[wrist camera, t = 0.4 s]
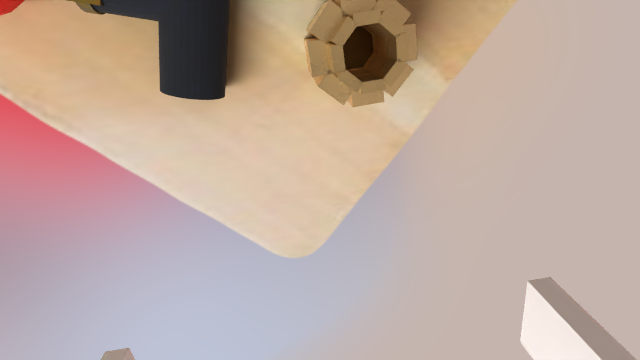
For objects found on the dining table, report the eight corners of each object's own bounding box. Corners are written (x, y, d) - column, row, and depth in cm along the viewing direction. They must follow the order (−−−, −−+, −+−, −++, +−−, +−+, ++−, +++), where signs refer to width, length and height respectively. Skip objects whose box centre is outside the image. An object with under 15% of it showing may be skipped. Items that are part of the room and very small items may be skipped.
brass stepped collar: (298, 3, 29) (301, -3, 22) (394, -13, 29) (426, -24, 22) (313, 100, 32) (320, 121, 26) (400, 85, 33) (430, 102, 26)
